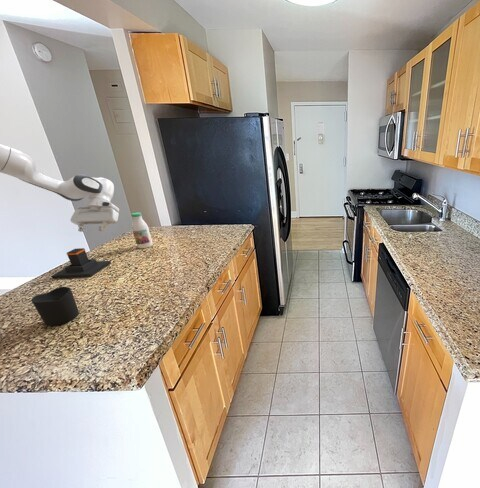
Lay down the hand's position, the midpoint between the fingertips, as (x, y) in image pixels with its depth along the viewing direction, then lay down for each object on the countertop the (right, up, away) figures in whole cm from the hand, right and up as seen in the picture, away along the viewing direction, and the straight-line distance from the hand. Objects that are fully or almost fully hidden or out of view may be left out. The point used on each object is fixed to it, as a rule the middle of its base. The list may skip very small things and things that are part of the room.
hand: (91, 231), depth 129 cm
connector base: (+1, -19, -5) cm, 20 cm away
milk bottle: (+11, -8, +23) cm, 27 cm away
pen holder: (+25, -33, -38) cm, 56 cm away
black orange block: (+1, -18, -6) cm, 19 cm away
